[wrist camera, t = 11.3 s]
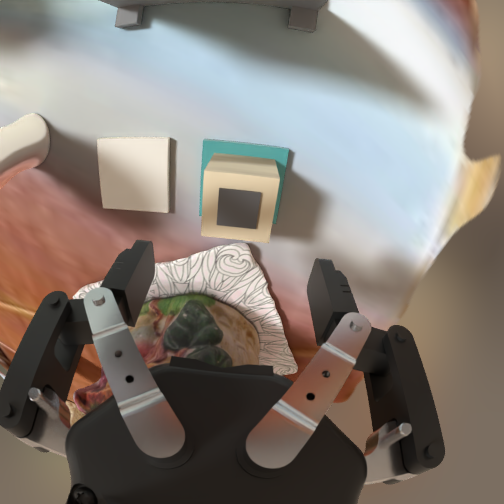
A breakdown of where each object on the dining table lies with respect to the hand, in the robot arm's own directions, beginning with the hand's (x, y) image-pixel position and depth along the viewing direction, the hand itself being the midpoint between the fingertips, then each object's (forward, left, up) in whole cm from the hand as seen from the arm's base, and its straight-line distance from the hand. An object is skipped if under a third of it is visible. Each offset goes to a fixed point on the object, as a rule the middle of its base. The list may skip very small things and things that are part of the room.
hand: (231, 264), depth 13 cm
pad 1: (0, -10, -12) cm, 16 cm away
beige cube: (0, 0, -12) cm, 12 cm away
